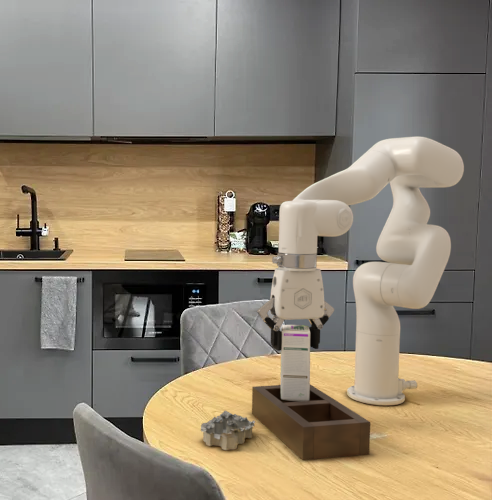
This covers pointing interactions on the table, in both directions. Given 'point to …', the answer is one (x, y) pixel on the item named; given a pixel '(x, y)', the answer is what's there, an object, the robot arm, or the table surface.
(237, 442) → the egg carton
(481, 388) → the table surface
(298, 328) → the syrup box
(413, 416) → the table surface
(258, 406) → the holder
